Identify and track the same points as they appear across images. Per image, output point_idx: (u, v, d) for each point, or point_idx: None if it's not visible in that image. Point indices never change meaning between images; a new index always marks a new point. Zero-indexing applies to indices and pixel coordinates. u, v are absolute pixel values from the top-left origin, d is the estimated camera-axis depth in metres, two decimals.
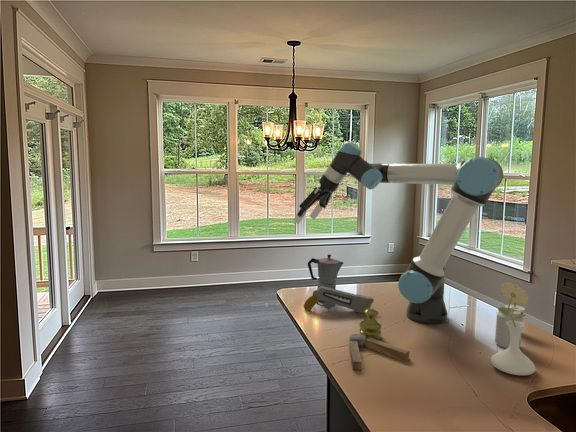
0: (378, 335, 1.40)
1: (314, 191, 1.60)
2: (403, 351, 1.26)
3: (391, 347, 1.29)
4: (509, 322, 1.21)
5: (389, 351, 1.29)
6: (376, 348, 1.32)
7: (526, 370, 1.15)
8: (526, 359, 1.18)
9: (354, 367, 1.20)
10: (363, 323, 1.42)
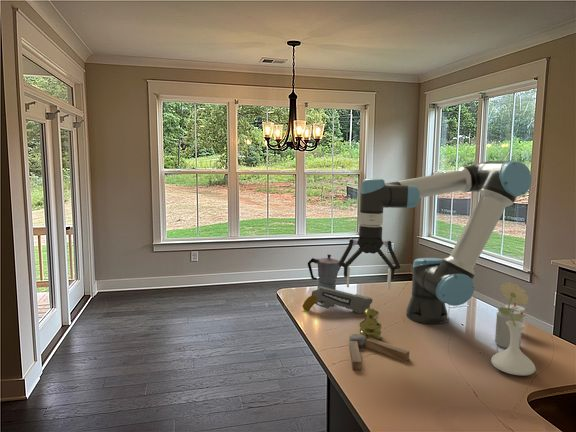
0: (378, 336, 1.40)
1: None
2: (403, 351, 1.26)
3: (391, 347, 1.29)
4: (509, 322, 1.21)
5: (389, 351, 1.29)
6: (376, 348, 1.32)
7: (526, 370, 1.15)
8: (526, 359, 1.18)
9: (354, 367, 1.20)
10: (363, 323, 1.42)
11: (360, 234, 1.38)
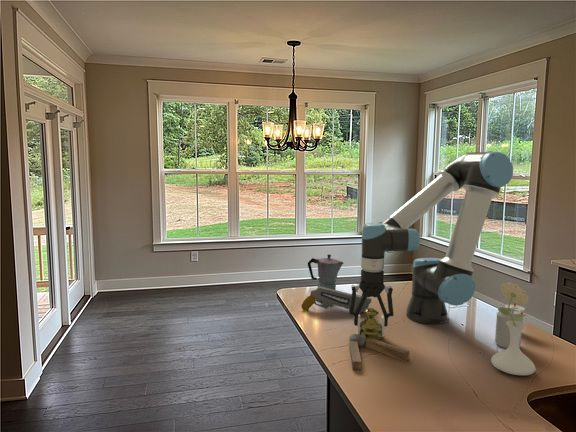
0: (378, 335, 1.40)
1: None
2: (403, 351, 1.26)
3: (391, 347, 1.29)
4: (509, 322, 1.21)
5: (389, 351, 1.29)
6: (376, 348, 1.32)
7: (526, 370, 1.15)
8: (526, 359, 1.18)
9: (354, 367, 1.20)
10: (363, 323, 1.42)
11: (362, 279, 1.39)
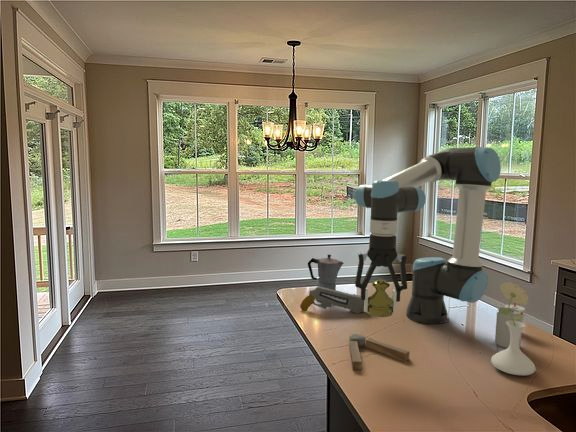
0: (389, 311, 1.20)
1: None
2: (403, 351, 1.26)
3: (391, 347, 1.29)
4: (509, 322, 1.21)
5: (389, 351, 1.29)
6: (376, 348, 1.32)
7: (526, 370, 1.15)
8: (526, 359, 1.18)
9: (354, 367, 1.20)
10: (371, 297, 1.22)
11: (371, 244, 1.19)
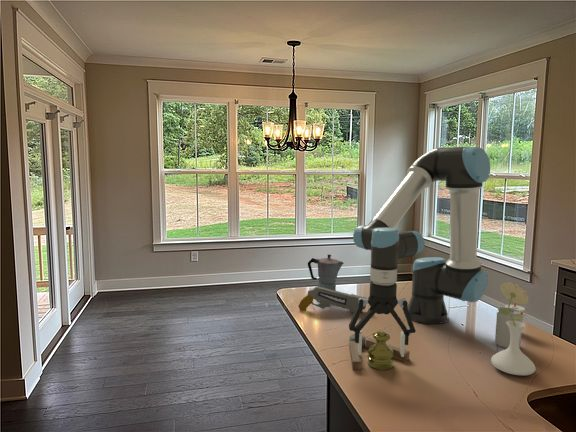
0: (390, 364, 1.20)
1: None
2: None
3: (391, 347, 1.29)
4: (509, 322, 1.21)
5: None
6: None
7: (526, 370, 1.15)
8: (526, 359, 1.18)
9: (354, 367, 1.20)
10: (372, 349, 1.22)
11: (371, 293, 1.19)
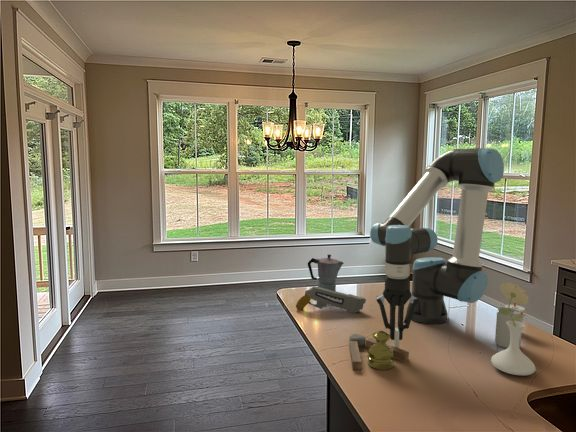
0: (390, 364, 1.20)
1: None
2: (402, 352, 1.26)
3: (390, 347, 1.29)
4: (509, 322, 1.21)
5: None
6: None
7: (526, 370, 1.15)
8: (526, 359, 1.18)
9: (354, 367, 1.20)
10: (372, 349, 1.22)
11: (387, 286, 1.27)
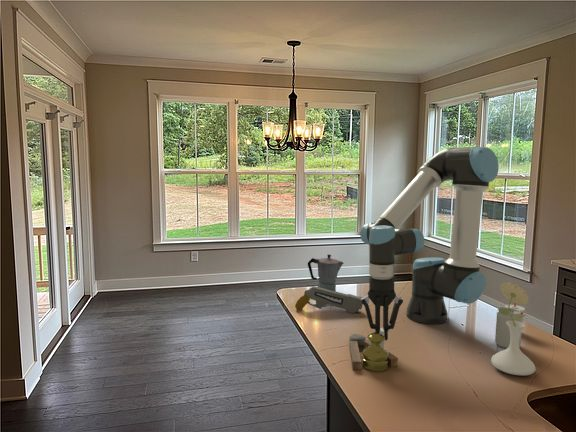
0: (385, 365, 1.19)
1: None
2: (391, 357, 1.23)
3: None
4: (509, 322, 1.21)
5: None
6: None
7: (526, 370, 1.15)
8: (526, 359, 1.18)
9: (354, 367, 1.20)
10: (367, 351, 1.21)
11: (371, 287, 1.28)
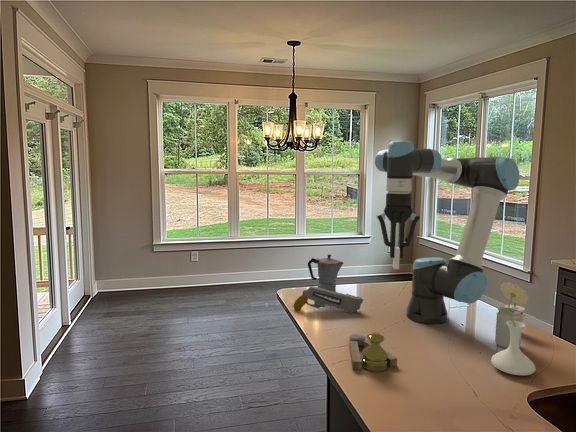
0: (384, 366, 1.19)
1: None
2: (390, 357, 1.22)
3: None
4: (509, 322, 1.21)
5: None
6: None
7: (526, 370, 1.15)
8: (526, 359, 1.18)
9: (354, 367, 1.20)
10: (366, 351, 1.21)
11: (388, 202, 1.27)
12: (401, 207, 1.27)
